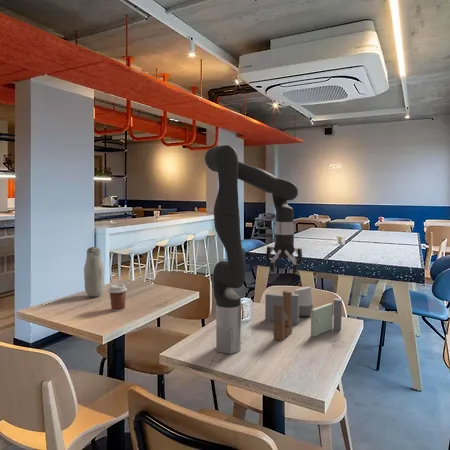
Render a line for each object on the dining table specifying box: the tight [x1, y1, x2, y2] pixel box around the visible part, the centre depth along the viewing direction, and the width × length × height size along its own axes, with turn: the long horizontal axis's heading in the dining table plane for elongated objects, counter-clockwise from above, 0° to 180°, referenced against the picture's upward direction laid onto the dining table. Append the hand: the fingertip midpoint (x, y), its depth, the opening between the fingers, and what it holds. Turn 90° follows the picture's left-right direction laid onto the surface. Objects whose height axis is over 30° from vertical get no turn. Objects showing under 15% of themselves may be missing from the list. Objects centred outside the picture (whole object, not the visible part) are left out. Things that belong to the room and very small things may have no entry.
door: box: [310, 302, 334, 338], centre depth 161 cm, size 3×14×11 cm, turn 132°
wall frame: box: [264, 293, 343, 331], centre depth 171 cm, size 3×33×13 cm, turn 67°
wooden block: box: [273, 290, 293, 342], centre depth 157 cm, size 4×11×18 cm, turn 147°
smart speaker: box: [294, 285, 314, 318], centre depth 184 cm, size 10×9×14 cm
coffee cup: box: [107, 283, 128, 312], centre depth 193 cm, size 9×9×12 cm
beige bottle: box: [83, 246, 105, 298], centre depth 215 cm, size 10×10×28 cm
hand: (283, 272), depth 155 cm, fingers open, 8 cm apart
